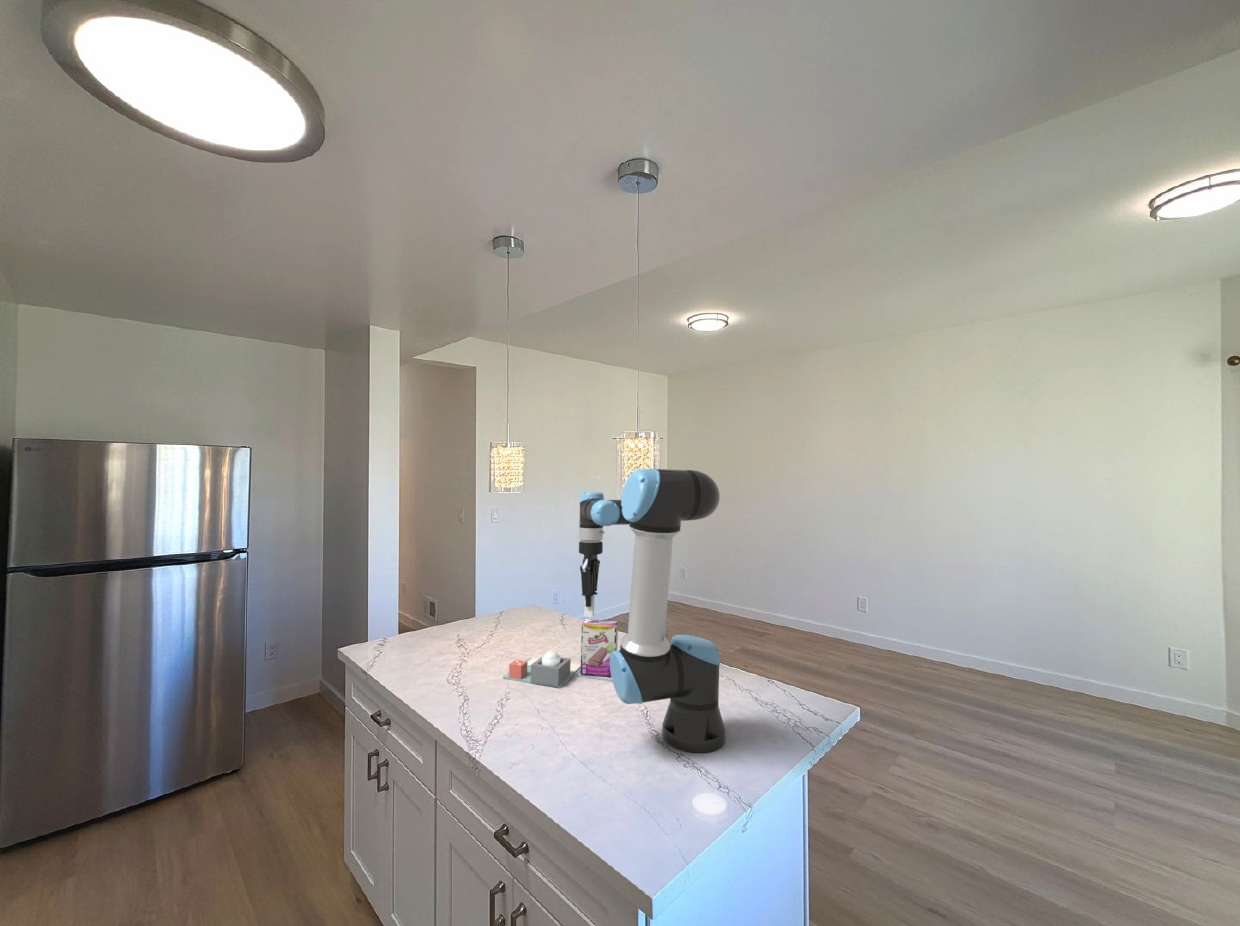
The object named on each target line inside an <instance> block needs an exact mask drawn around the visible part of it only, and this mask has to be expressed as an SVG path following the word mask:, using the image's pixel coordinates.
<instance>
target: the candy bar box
mask: <svg viewBox="0 0 1240 926" xmlns="http://www.w3.org/2000/svg"><path fill="white" fill-rule="evenodd" d="M618 630H619V621H618V620H606V619H592V618H591V619H589V618H584V620H583V621H582V622H581V644H580V646H581V647H580V648H581V649H580V665H581V671H580V675H584V676H591V677H607V678H612V677H611V671H610V656H611V654H612V652H614V651H616V650H618V641H619V640H618V637H619V636H618V635H619V634H618V633H619V631H618Z"/></svg>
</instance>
